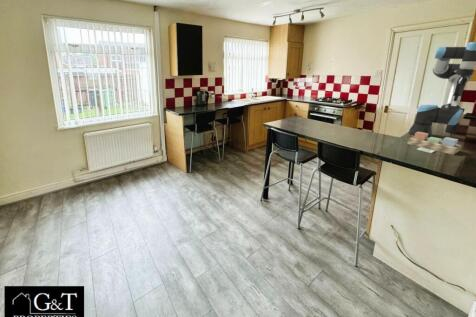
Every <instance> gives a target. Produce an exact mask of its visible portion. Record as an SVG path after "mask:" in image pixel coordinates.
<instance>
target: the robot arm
mask: <svg viewBox="0 0 476 317" xmlns="http://www.w3.org/2000/svg"><path fill="white" fill-rule="evenodd" d="M434 59H435V60H436V62H435V64H433V67H432V73H433V75H435V76H436V77H437V78H440V79H443V80H448V82H449V84H448V85H449V86H448V88H447V94H446V96H445V101H444V104H443V105H441V106H440V107H439V105H438V104H422V105H419V106H418V108H417V111H416V115H415V117H414V122H413V124H412V126H411V127H410V128H409V130H408V132H407V133H408V134H410V135H413V136H415V133H416V132H424V133H429V134H428V137H427V138H430V137H432V134H433V130H432V129H433V128H432V126H433V124H442V125H446V126H447V125H456V124H457V122H458V121H459V119H460V117H461V114H462V112H463V110H461V108H462V107H461V105H460V102H461V99H462V96H463V95H462V94H463V92H464V89H465V88H466V85H467V83H468V81H470V80H471V78H472V77H473V74H474V71H475V70H474V69H475V68H476V41H470V42H467V44H466V46H439V47H437V49H436V51H435V55H434ZM451 60H461V61H460V63H450V61H451Z"/></svg>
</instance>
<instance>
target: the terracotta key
mask: <svg viewBox="0 0 476 317" xmlns="http://www.w3.org/2000/svg"><path fill="white" fill-rule="evenodd" d="M428 134H429V133H424V132H416V133H415V135H413V136H414V139H418V140H423V141H425V140H427V138H429V137H428Z"/></svg>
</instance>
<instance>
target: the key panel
mask: <svg viewBox="0 0 476 317" xmlns="http://www.w3.org/2000/svg"><path fill="white" fill-rule="evenodd" d="M414 136H415V135H413V136H411V137H409V138H408V140H407V142H406V143H407V145H410V146H411V145H412V146H415V147H418V148H420V147H422V148H427V149H431V150H434V151H437V152H439V153H443V154H449V155H453V156H454V155H455V154H457V153H458V152H460V150H461V147H462V145H461V144H458V143H457V144H456V146H455V147H450V146H446V145H442V142H443V140H441V143H439V144H437V143H432V142H428V141H427V140H428V138H429V137H427V140H425V141H423V140H418V139H414Z"/></svg>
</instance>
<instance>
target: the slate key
mask: <svg viewBox="0 0 476 317" xmlns="http://www.w3.org/2000/svg"><path fill="white" fill-rule="evenodd" d="M442 141H443V142H442V145H446V146H450V147H455V146H456V144H457V145H458V142H459V139H458V138H453V137H448V136H446V137H443V139H442Z"/></svg>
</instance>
